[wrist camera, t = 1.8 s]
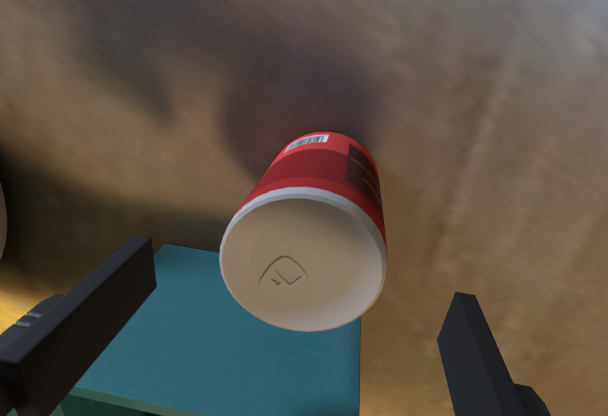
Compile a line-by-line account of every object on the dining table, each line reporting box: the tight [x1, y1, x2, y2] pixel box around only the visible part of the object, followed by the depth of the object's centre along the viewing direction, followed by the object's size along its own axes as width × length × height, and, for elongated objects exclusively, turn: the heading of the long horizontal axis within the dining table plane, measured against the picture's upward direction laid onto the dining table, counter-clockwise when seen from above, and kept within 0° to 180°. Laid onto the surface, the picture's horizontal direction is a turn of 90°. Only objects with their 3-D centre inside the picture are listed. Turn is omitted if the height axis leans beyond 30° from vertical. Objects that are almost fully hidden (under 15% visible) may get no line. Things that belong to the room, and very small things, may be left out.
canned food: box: [219, 132, 387, 332], centre depth 21 cm, size 8×8×11 cm
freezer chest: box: [51, 243, 361, 416], centre depth 27 cm, size 17×15×14 cm
